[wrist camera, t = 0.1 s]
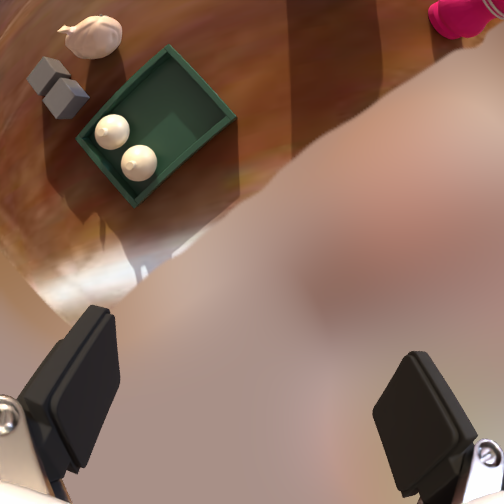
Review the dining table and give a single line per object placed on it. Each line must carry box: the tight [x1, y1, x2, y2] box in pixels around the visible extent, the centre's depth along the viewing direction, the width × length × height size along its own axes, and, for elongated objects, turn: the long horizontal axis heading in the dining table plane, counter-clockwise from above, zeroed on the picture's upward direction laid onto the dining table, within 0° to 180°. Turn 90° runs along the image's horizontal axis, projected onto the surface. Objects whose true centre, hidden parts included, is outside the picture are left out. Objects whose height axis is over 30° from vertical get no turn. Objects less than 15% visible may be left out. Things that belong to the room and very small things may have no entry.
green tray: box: [75, 44, 237, 208], centre depth 33 cm, size 17×13×3 cm
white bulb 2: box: [121, 145, 157, 181], centre depth 33 cm, size 4×4×5 cm
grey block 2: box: [42, 77, 90, 119], centre depth 31 cm, size 4×4×4 cm
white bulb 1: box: [95, 114, 130, 150], centre depth 32 cm, size 4×4×5 cm
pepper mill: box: [428, 0, 504, 39], centre depth 18 cm, size 7×7×20 cm
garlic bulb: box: [57, 15, 122, 59], centre depth 26 cm, size 7×6×8 cm
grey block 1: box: [27, 57, 71, 96], centre depth 29 cm, size 4×4×4 cm
